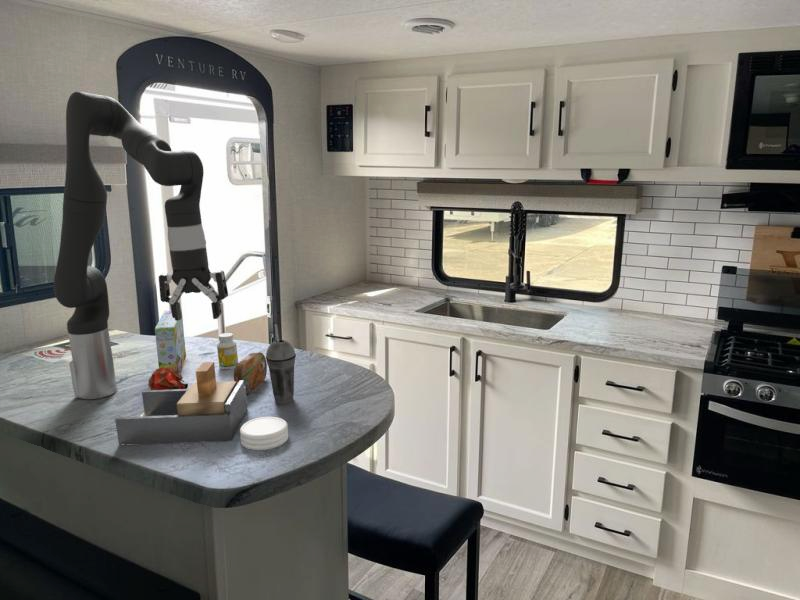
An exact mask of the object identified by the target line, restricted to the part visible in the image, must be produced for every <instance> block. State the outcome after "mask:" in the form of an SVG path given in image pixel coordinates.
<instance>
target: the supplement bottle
mask: <svg viewBox="0 0 800 600" xmlns="http://www.w3.org/2000/svg"><path fill="white" fill-rule="evenodd" d="M216 347H217V348H216V349H217V357H218V358H217V360H218V366H219V368H220V369H222V370H232V368H233V369H235V367H236V365H237V364H238V363H239V359H238V347H237V342H236V341H235V340H234V334H233V333H231V332H225V333H220V334H218V342H217V343H216Z"/></svg>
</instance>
